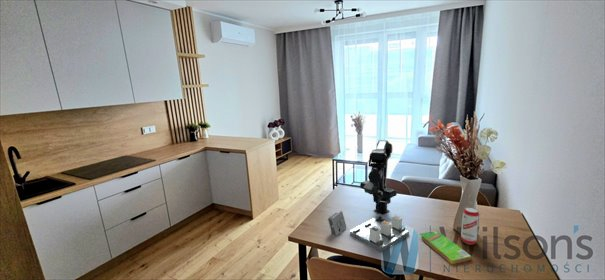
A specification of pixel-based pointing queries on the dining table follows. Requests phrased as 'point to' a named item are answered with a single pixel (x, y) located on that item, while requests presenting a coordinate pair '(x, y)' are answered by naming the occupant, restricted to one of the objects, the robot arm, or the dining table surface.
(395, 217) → the block
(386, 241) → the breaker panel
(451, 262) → the game box
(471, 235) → the beer can
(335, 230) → the electrical switch
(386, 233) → the breaker
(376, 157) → the robot arm
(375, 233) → the breaker
